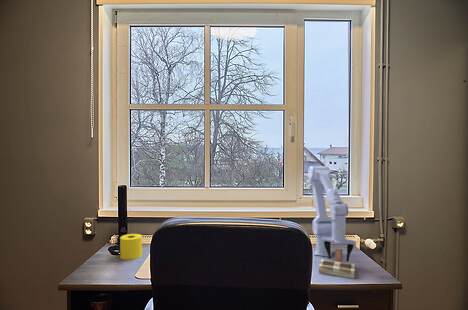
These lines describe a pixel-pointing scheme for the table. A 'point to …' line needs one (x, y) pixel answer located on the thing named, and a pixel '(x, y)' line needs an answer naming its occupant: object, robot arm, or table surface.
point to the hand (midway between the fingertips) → (338, 259)
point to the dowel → (338, 254)
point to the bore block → (337, 268)
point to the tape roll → (130, 246)
